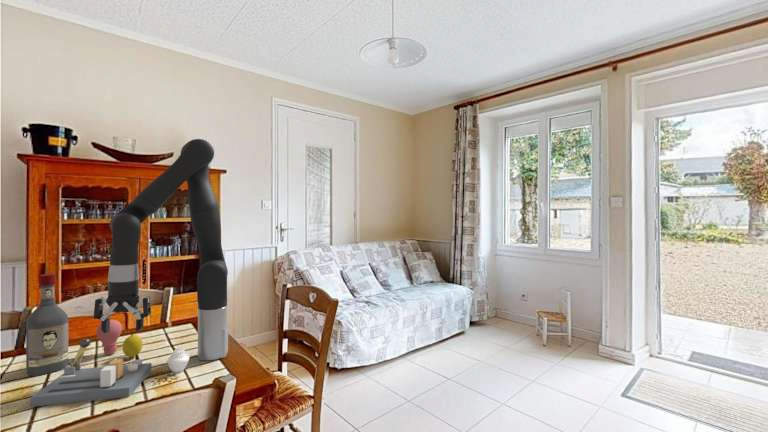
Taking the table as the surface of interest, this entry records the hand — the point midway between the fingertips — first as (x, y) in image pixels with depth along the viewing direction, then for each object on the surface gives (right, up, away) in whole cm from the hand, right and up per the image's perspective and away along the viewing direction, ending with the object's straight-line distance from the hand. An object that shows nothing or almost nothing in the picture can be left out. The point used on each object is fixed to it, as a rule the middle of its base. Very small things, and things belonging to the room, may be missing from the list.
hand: (122, 331), depth 108 cm
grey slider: (+4, -11, -11) cm, 16 cm away
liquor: (-27, -13, +4) cm, 30 cm away
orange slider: (+3, -11, -6) cm, 13 cm away
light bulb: (-16, -13, +16) cm, 27 cm away
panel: (-2, -14, -7) cm, 15 cm away
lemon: (-7, -14, +13) cm, 20 cm away
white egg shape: (+14, -14, +4) cm, 21 cm away
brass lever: (-12, -10, -3) cm, 16 cm away
